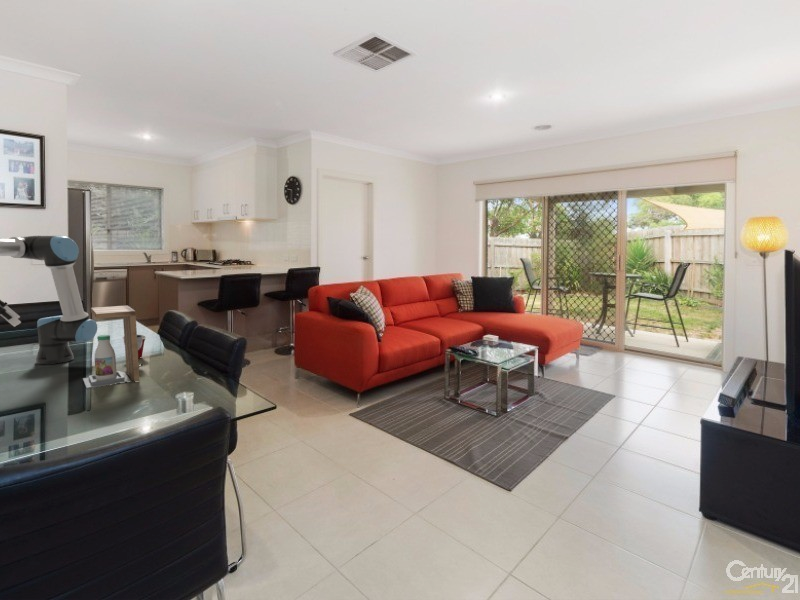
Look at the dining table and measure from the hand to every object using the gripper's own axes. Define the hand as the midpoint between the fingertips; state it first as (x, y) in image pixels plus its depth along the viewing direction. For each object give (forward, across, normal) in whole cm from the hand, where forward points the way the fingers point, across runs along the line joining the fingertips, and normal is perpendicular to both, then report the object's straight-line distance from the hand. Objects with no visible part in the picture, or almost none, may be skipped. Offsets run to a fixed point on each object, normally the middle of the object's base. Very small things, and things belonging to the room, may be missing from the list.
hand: (17, 321), depth 174 cm
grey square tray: (+40, +6, +5) cm, 41 cm away
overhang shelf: (+42, +6, +8) cm, 43 cm away
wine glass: (+49, -14, +16) cm, 53 cm away
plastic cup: (+51, -28, +19) cm, 62 cm away
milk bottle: (+39, +6, +5) cm, 40 cm away
